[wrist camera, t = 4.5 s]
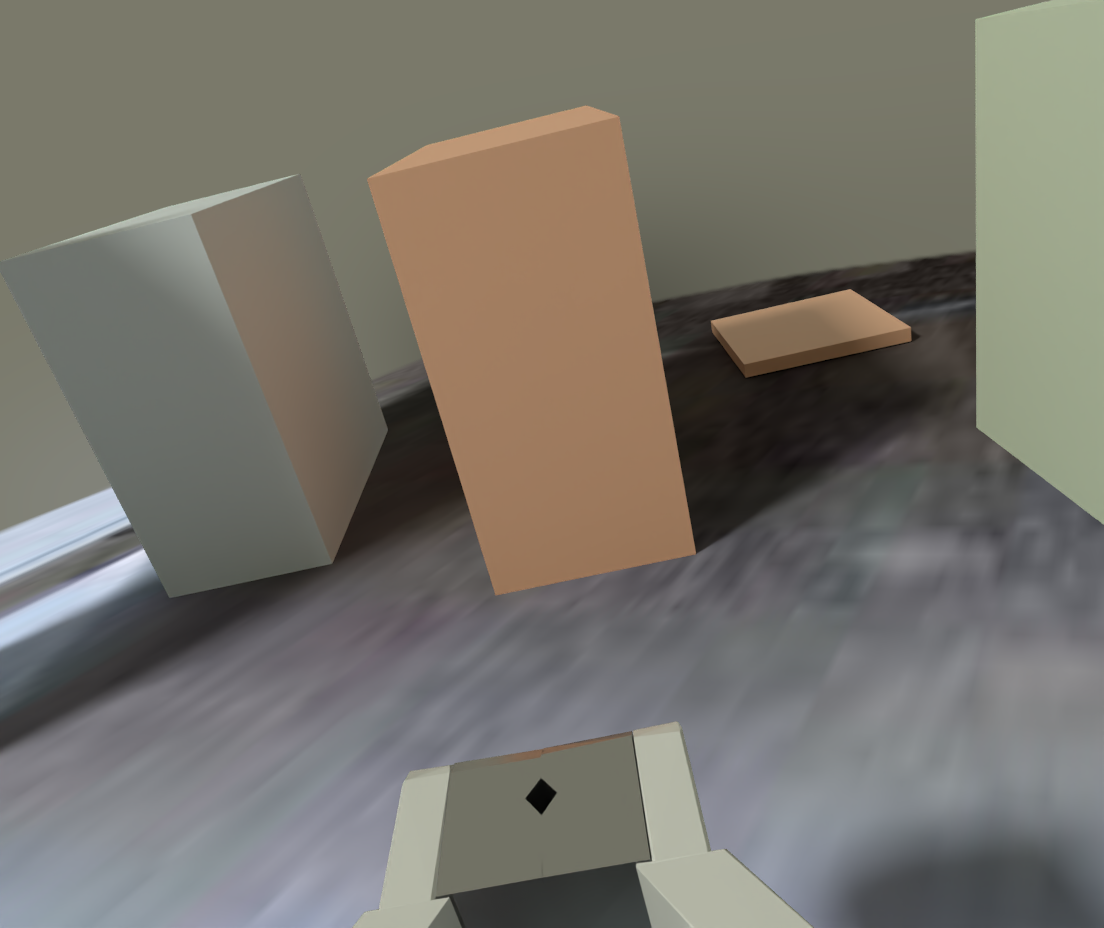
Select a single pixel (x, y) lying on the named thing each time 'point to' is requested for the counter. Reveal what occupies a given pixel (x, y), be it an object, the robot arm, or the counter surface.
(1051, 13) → the sage block
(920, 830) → the counter surface
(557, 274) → the terracotta block
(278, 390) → the blue-grey block
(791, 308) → the tile
